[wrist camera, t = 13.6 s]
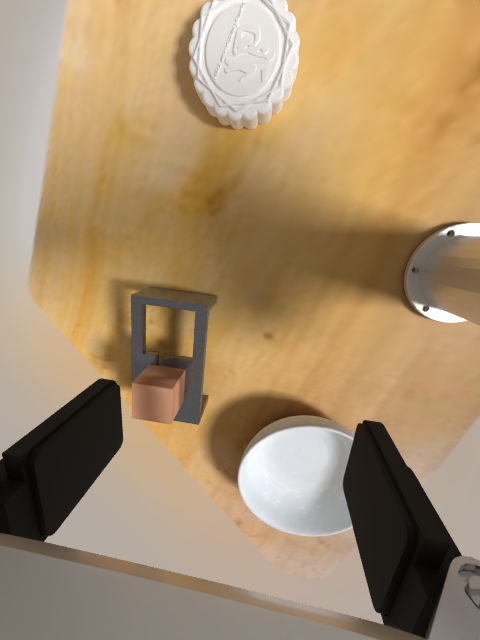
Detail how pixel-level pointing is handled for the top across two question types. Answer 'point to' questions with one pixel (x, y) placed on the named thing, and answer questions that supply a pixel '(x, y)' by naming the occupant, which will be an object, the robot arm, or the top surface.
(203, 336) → the keyhole bracket
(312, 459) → the serving bowl
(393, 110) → the top surface
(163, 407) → the keyhole peg
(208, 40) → the mooncake
